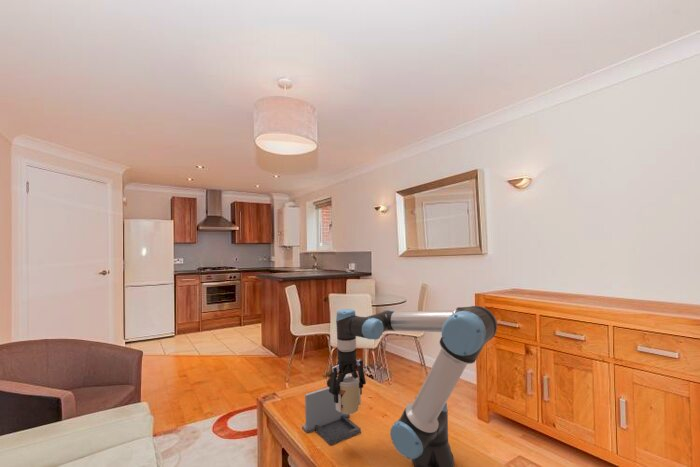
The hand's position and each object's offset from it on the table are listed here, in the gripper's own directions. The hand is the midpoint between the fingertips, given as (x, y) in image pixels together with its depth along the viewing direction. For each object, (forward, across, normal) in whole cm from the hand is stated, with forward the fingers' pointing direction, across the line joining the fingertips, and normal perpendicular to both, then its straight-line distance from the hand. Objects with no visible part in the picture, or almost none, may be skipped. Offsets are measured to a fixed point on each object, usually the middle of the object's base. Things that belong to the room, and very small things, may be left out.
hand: (348, 406), depth 132 cm
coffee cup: (+1, 0, 0) cm, 1 cm away
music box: (+17, -14, -32) cm, 38 cm away
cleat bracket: (+17, -3, -14) cm, 22 cm away
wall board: (+16, -3, -23) cm, 28 cm away
